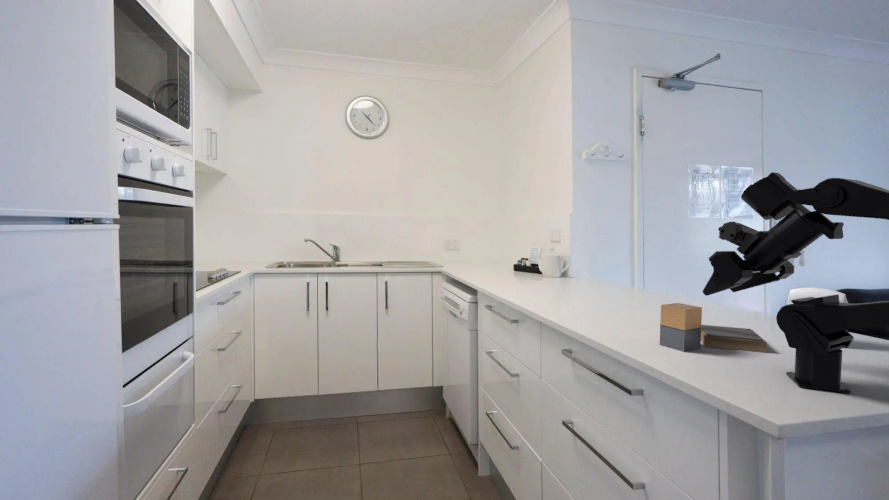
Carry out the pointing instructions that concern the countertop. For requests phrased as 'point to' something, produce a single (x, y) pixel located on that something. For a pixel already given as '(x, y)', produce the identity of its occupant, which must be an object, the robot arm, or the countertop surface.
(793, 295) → the photo printer
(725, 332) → the walnut stand
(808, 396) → the countertop surface
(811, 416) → the countertop surface
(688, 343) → the tan and grey block
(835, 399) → the countertop surface
